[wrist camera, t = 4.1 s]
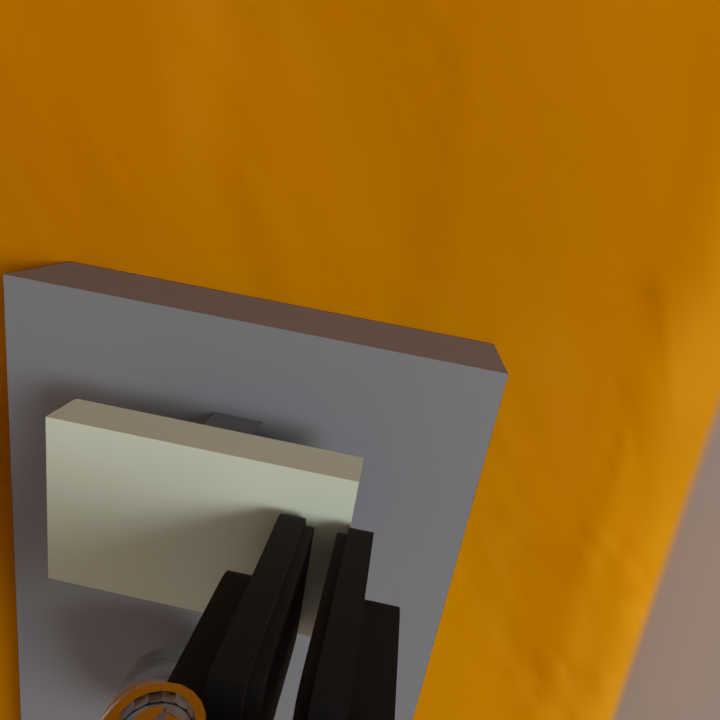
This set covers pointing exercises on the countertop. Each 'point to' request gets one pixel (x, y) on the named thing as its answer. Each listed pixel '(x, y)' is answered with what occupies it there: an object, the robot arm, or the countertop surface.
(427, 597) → the panel
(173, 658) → the button metal
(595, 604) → the countertop surface
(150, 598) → the block
